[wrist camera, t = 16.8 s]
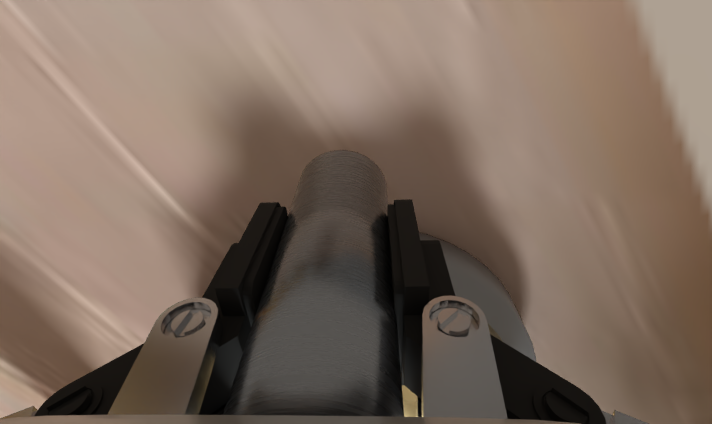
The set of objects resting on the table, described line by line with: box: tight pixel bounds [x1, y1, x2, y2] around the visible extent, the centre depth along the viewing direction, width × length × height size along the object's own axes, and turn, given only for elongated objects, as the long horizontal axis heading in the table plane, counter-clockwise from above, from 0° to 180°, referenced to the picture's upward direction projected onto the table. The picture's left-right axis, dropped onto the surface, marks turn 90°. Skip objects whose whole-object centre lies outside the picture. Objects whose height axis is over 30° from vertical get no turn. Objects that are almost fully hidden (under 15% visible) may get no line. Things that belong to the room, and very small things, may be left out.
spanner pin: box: [223, 150, 404, 417], centre depth 9 cm, size 3×3×10 cm
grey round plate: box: [419, 233, 536, 362], centre depth 27 cm, size 23×23×3 cm
